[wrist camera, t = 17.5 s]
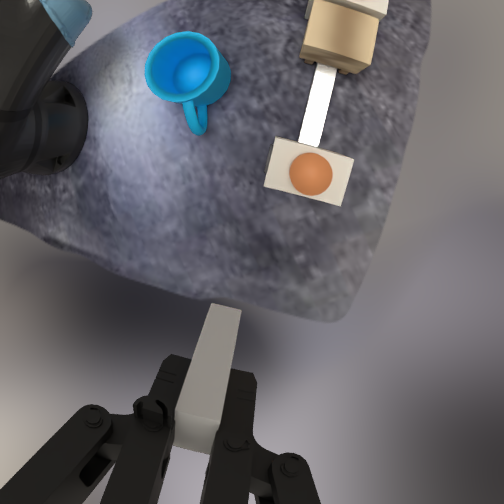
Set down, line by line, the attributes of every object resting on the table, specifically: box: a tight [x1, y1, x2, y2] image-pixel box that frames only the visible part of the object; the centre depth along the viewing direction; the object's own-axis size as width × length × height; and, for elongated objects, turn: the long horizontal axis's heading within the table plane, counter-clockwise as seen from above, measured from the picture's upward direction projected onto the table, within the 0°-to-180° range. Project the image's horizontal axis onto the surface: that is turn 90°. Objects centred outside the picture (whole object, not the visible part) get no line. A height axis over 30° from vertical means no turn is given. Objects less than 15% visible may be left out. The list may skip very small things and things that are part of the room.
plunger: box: [289, 153, 333, 196], centre depth 29 cm, size 4×4×5 cm
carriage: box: [299, 0, 379, 75], centre depth 26 cm, size 7×6×8 cm
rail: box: [297, 62, 337, 147], centre depth 31 cm, size 2×17×2 cm, turn 167°
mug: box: [145, 31, 231, 136], centre depth 30 cm, size 12×8×8 cm
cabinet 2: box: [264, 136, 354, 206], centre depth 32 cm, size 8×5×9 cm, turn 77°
